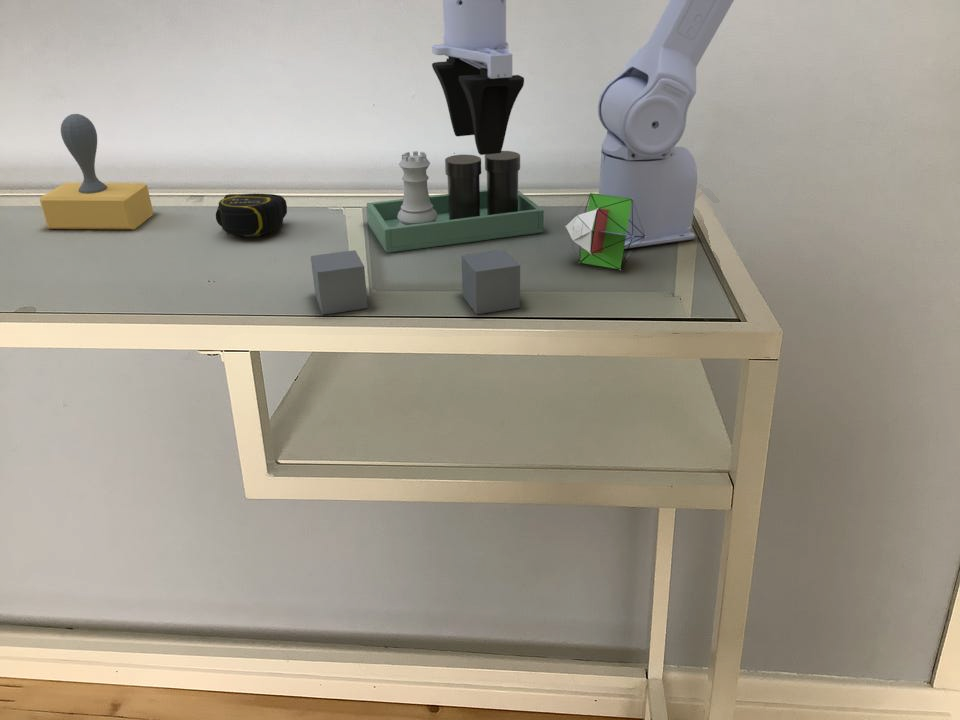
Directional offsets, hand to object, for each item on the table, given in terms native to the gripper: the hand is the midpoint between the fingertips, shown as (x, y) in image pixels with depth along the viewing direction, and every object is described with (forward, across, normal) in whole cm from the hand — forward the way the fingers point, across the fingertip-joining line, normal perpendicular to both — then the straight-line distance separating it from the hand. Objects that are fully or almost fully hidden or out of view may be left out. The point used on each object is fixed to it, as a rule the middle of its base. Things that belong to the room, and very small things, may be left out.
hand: (477, 143), depth 79 cm
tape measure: (+11, -13, -22) cm, 28 cm away
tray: (+10, -6, -1) cm, 12 cm away
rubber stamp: (+11, -22, -38) cm, 45 cm away
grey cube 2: (+10, +14, -4) cm, 18 cm away
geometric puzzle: (+10, +9, +10) cm, 17 cm away
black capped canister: (+10, -6, +5) cm, 12 cm away
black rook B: (+10, -6, 0) cm, 11 cm away
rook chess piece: (+10, -6, -5) cm, 13 cm away
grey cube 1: (+10, +10, -16) cm, 21 cm away
